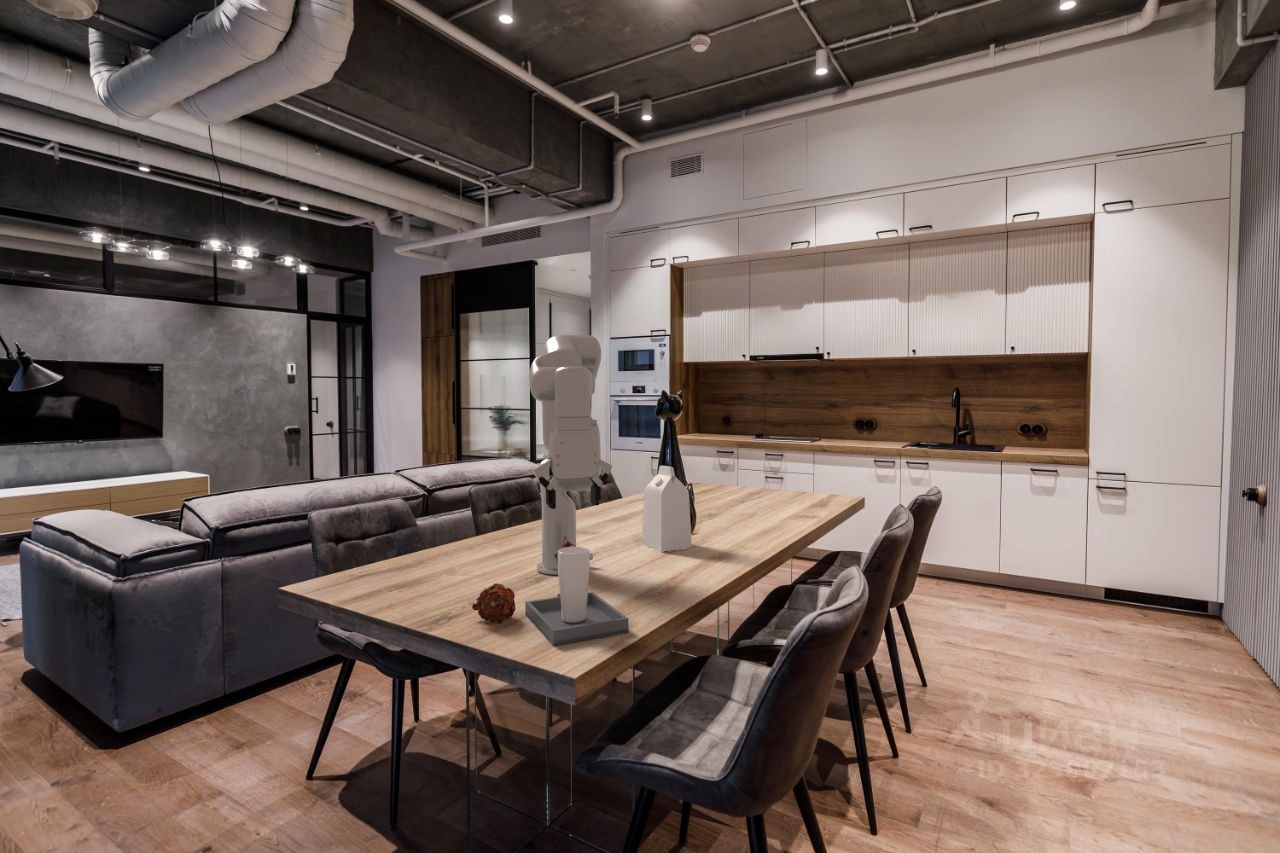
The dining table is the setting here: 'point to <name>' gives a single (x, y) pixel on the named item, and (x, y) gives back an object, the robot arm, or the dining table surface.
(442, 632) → the dining table surface
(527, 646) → the dining table surface
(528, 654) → the dining table surface
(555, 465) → the robot arm
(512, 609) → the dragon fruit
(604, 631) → the tray
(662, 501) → the milk
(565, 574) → the drinking glass
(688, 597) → the dining table surface
